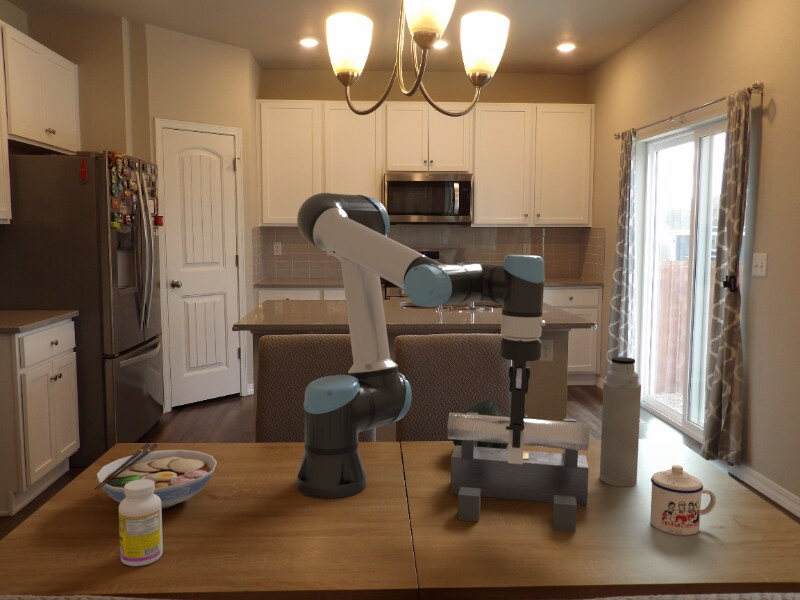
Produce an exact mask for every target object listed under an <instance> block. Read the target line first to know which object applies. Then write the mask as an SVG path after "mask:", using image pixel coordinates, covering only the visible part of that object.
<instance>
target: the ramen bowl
mask: <svg viewBox="0 0 800 600" xmlns="http://www.w3.org/2000/svg"><path fill="white" fill-rule="evenodd" d="M158 446H159V445H158V443H154V444H153V445H151V444H150V443H149V442H148V443H145V444H144V445H143V446H141V448H140V449H138V450H137V451H136V452H135V453H134V454H132V455H129V456H125V457H120V458H118V459H116V460H114V461H111V462H110V463H107V464H105V465H103V466H102V467H101V468H100V470H99V471H98V472H97V473H96V477H97V482H98V483H99V484H98V485H97V486H95V488H93V489H94V491H95V490H96V489H97V491H98V490H99V489H101V488H102V490H103V491H104V492H105V493H106V494H107V495H108V496H109V497H110V498H111V499H112V500H114V501H115V502H118V503H119V504H120V503H121V501H122V500H123V499H125V498H126V495H125V493H124V486H125V484H127V483H129V482H131V481H134V480H140V479H149V480H153V481H154V483H155V490H154V494H155V495H157V496H158V497H159V498H160V499H161V508H162V510H163V509H168V508H172V507H173V506H175V505H176V504H177V505H178V504H179V503H182V502H184V501H188V500H189V499H191V497H194V496H195V495H197V494H198V493H199V492H201V491H202V490H203V489H204V487H205V486H206V485H207V484H208V482H209V480H210V479H211V477H212V475H213V473H214V471H215V469H216V466H217V463H218V461H217V460H216V459H215V458H214V457H213V455H210V454H207V453H204V452H201V451H198V450H197V451H196V450H189V449H188V450H187V449H168V450H167V449H166V450H161V449H160V450H155V449H157V447H158ZM153 450H154V451H153Z"/></svg>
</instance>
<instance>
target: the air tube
mask: <svg viewBox="0 0 800 600" xmlns="http://www.w3.org/2000/svg"><path fill="white" fill-rule="evenodd" d="M509 424H510V416H505V417H500V416H487V415H475V414H462V413H461V412H460V413H459V412H449V415H448V419H447V431H446V433H447V434H446V435H447V439H448V440H449V439H450V440H452V439H458V440H469V441H481V442H492V443H503V444H508V445H509V430H506V426H509ZM524 446H525V447H526V446H527V447H538V448H539V447H540V448H550V449H562V450H563V449H571V450H578V451H582V452H583V451H584V452H588V451H589V447H590V424H589V423H587V422H576V423H575V422H564V421H559V420H550V419H549V420H548V419H535V418H528V419H525V418H524Z"/></svg>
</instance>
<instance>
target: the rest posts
mask: <svg viewBox="0 0 800 600" xmlns="http://www.w3.org/2000/svg"><path fill="white" fill-rule="evenodd" d="M481 499H482V496H481V489H479V488H468V487H460V490H459V493H458V494H457V520H459V521H467V522H468V521H469V522H477V521H480V516H481V502H482V501H481ZM552 506H553V509H552V512H553V513H552V524H553V525H552V526H553V527H552V529H553V530H560V531H566V532H567V531H568V532H576V530H577V529H576V528H577V507H578V505H576V499H575V497H570V496H558V495H554V503H552Z"/></svg>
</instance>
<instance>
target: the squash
mask: <svg viewBox="0 0 800 600" xmlns="http://www.w3.org/2000/svg"><path fill="white" fill-rule="evenodd" d="M467 412H476V413H478V415H487V416H500V417H506V416H505V415H504V413H503V412H502V411H501V409H500V408H499V407H498V405H497V403H496V402H495V400H494V398H487V399H482V400H480V401H478V402H476V403H474V404H471V405H470V406H468V407H467V408H464V410H461V412H460V413H462V414H466V413H467ZM451 440H452V443H453V445H454V447H455V446H456V445H459V446H462V440H458V439H451ZM477 447H485V448H499V449H508V447H509V444H503V443H492V442H481V441H478V444H477Z"/></svg>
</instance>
